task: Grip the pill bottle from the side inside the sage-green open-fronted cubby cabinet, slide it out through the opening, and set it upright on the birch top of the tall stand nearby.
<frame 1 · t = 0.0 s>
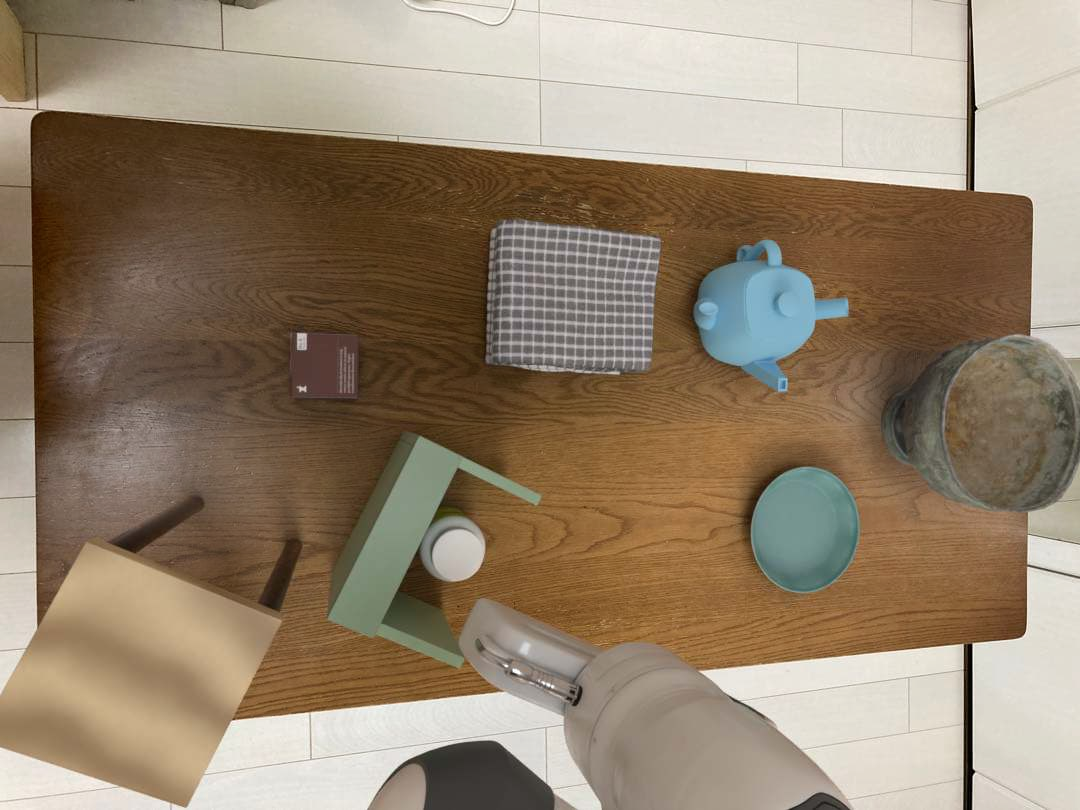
hand: (571, 649, 54), 22 cm above the table, tool pointing down, fingers open, 8 cm apart
towel: (564, 305, 78), on the table
stand legs: (220, 572, 68), on the table
box: (327, 370, 71), on the table
saucer: (792, 526, 85), on the table
cubby: (421, 525, 74), on the table
pill bottle: (442, 534, 74), on the table
teapot: (731, 323, 83), on the table
stand: (136, 677, 41), resting on stand legs
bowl: (911, 421, 90), on the table
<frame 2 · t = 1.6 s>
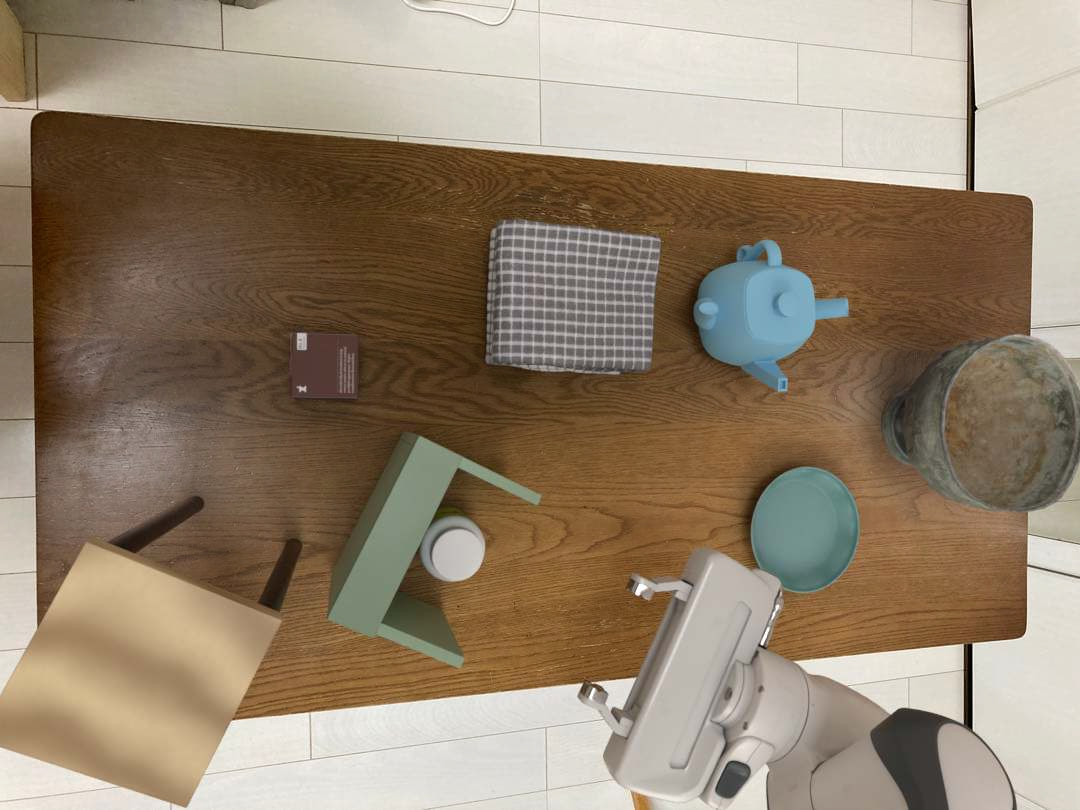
hand: (607, 635, 57), 20 cm above the table, tool horizontal, fingers open, 8 cm apart
nothing on the table moved.
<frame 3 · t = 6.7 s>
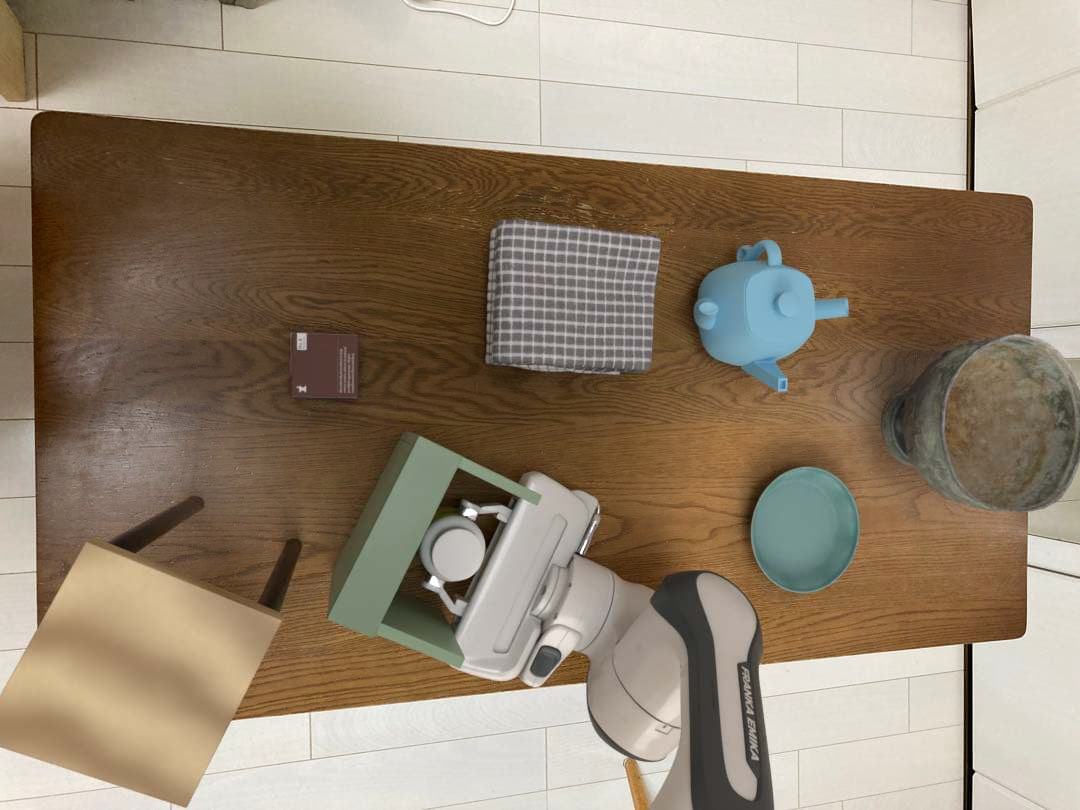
hand: (442, 541, 68), 6 cm above the table, tool horizontal, fingers closed on pill bottle, 6 cm apart
pill bottle: (442, 534, 74), on the table, touching gripper
everything else where it was.
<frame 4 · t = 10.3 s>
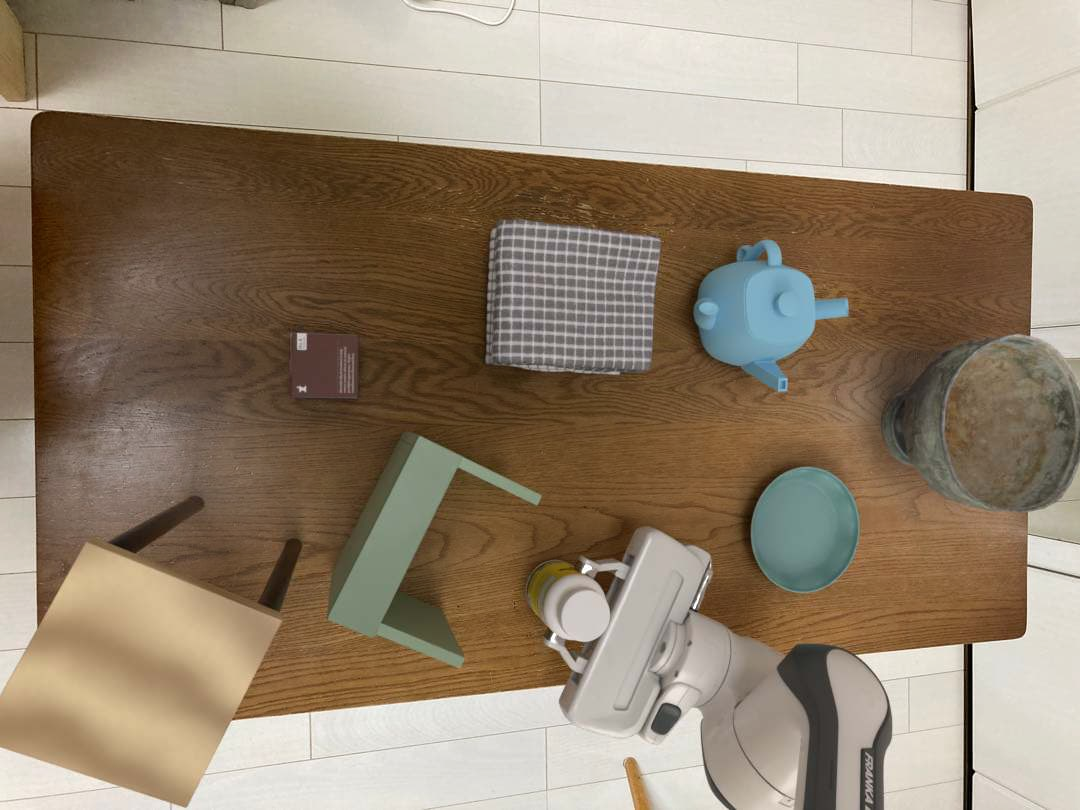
hand: (561, 599, 69), 9 cm above the table, tool horizontal, fingers closed on pill bottle, 6 cm apart
pill bottle: (552, 587, 75), point 2 cm above the table, touching gripper
everything else where it was.
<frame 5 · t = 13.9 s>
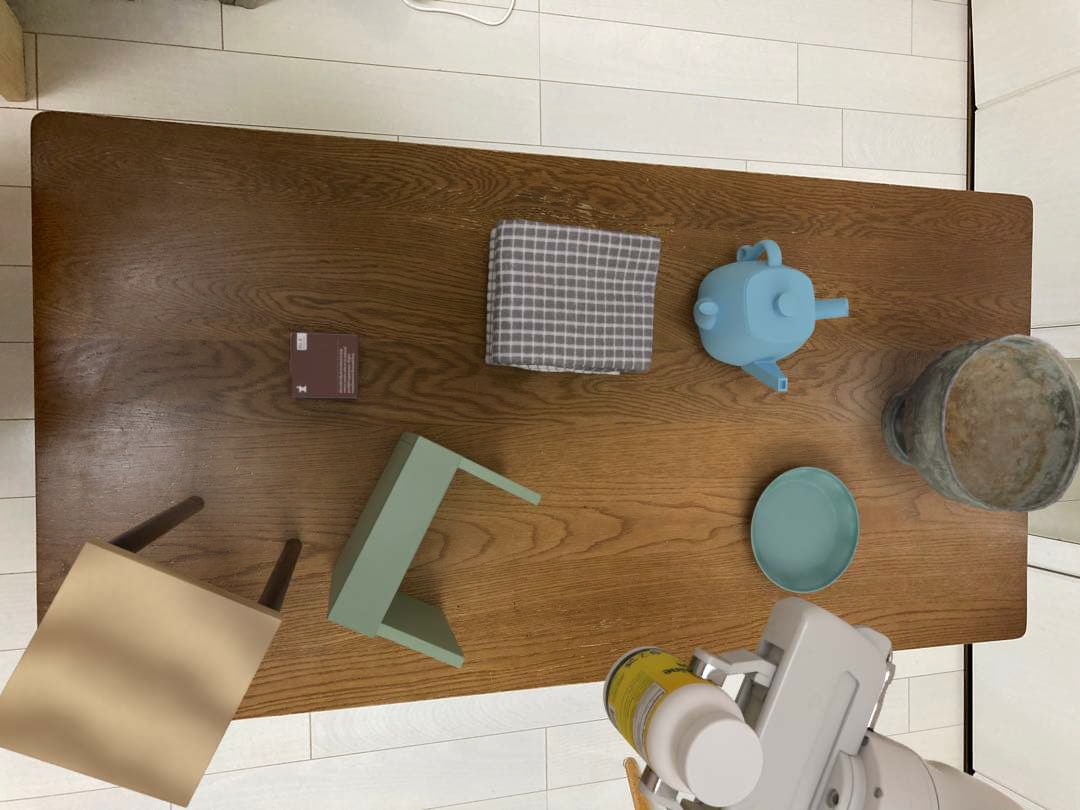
hand: (670, 720, 43), 35 cm above the table, tool horizontal, fingers closed on pill bottle, 6 cm apart
pill bottle: (641, 687, 49), point 29 cm above the table, touching gripper
everything else where it was.
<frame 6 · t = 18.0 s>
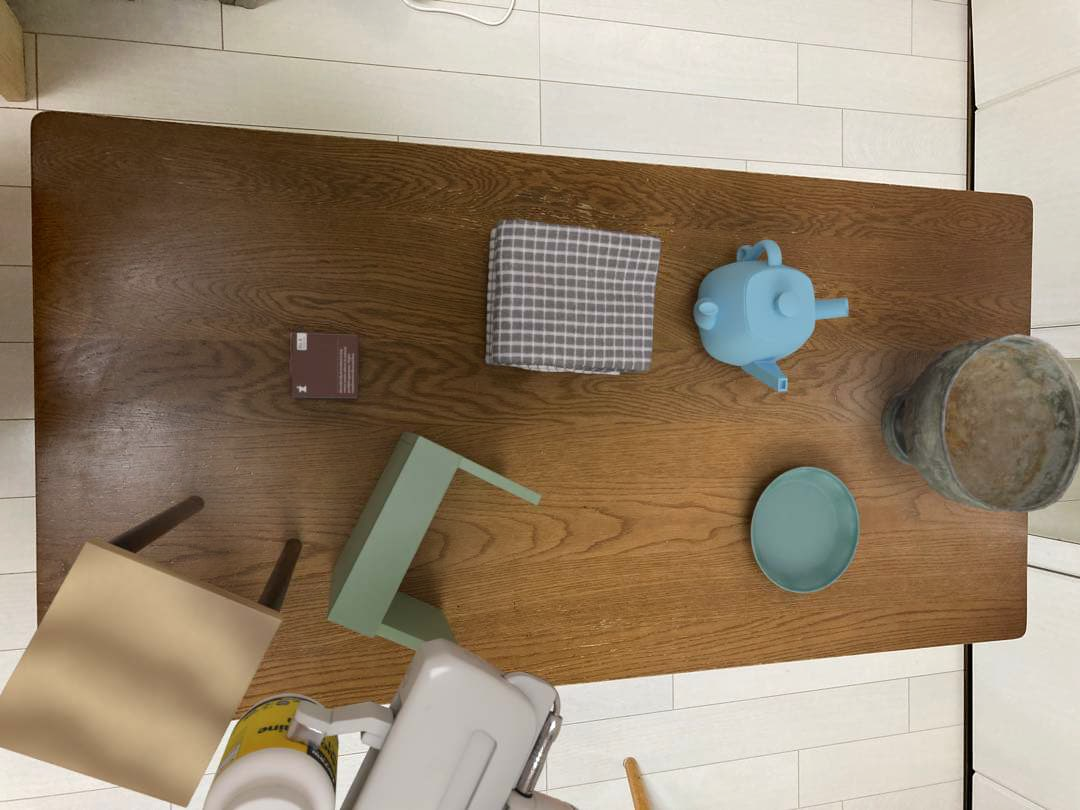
hand: (256, 789, 36), 36 cm above the table, tool horizontal, fingers closed on pill bottle, 6 cm apart
pill bottle: (284, 740, 42), point 29 cm above the table, touching gripper
everything else where it was.
when the fingers open (34 cm above the table, at t = 21.4 s): pill bottle stays where it is, resting on stand.
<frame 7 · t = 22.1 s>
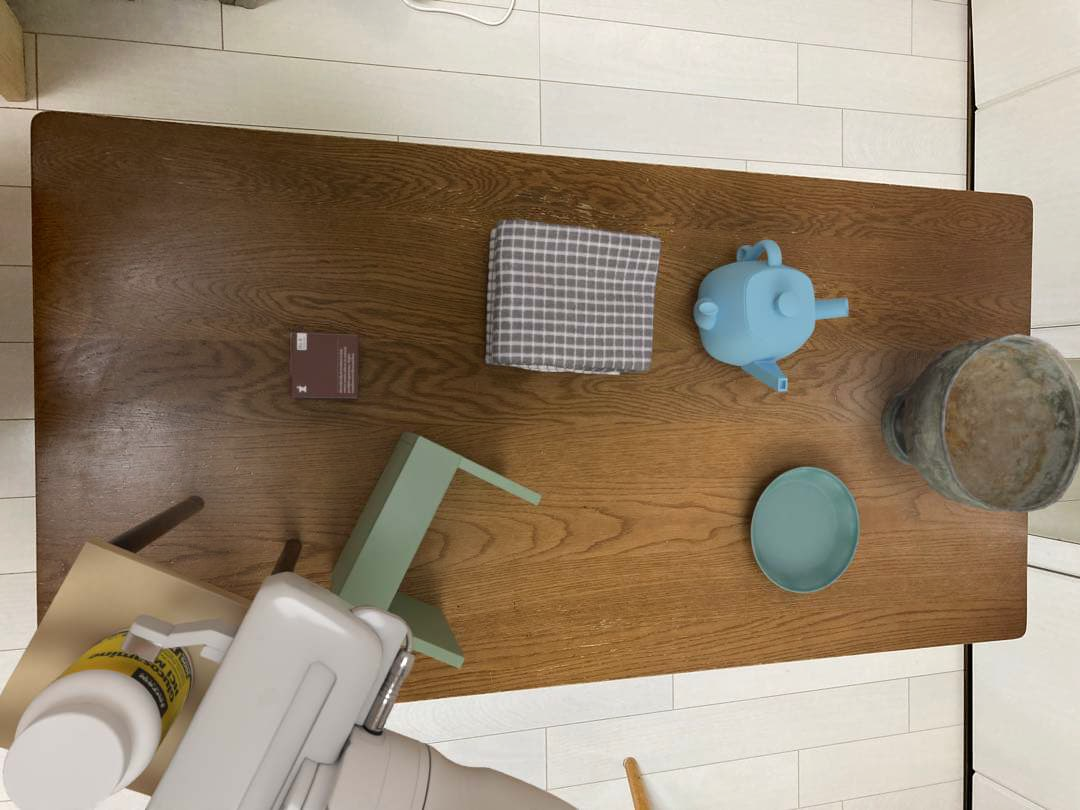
hand: (81, 720, 35), 35 cm above the table, tool horizontal, fingers open, 8 cm apart
pill bottle: (138, 675, 42), point 28 cm above the table, touching stand
everything else where it was.
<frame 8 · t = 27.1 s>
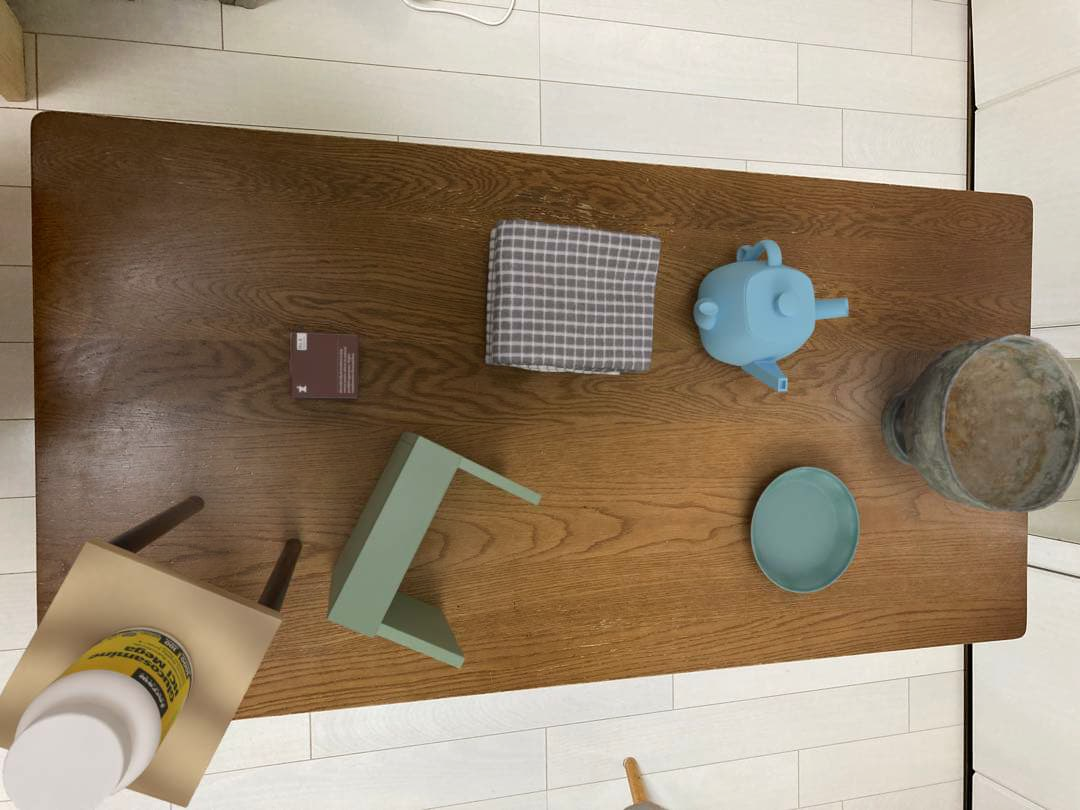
nothing on the table moved.
at the end: pill bottle inside the target area on the stand (0.0 cm from its centre), point 0.0 cm above the stand's base; pill bottle tilted 0°; the gripper is holding nothing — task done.
